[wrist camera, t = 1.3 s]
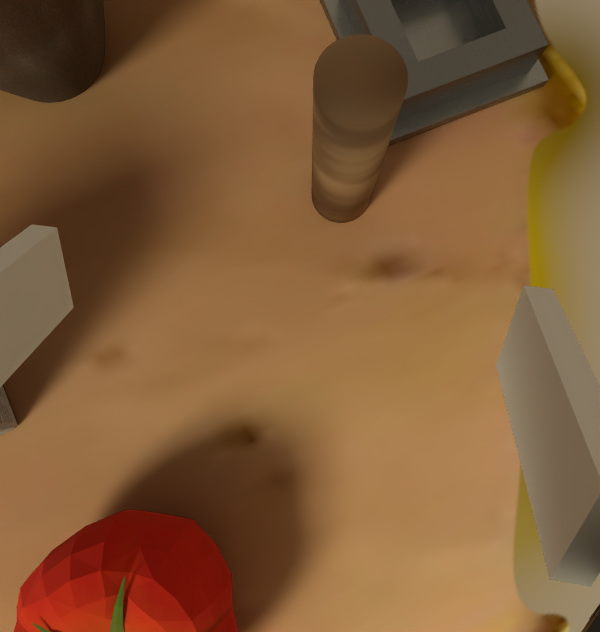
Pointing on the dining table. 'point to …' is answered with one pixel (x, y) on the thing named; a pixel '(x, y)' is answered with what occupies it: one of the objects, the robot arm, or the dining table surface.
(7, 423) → the coffee box
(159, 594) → the tomato
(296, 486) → the dining table surface
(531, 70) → the grey square socket base
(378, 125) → the brown wooden cylinder
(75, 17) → the plant pot
